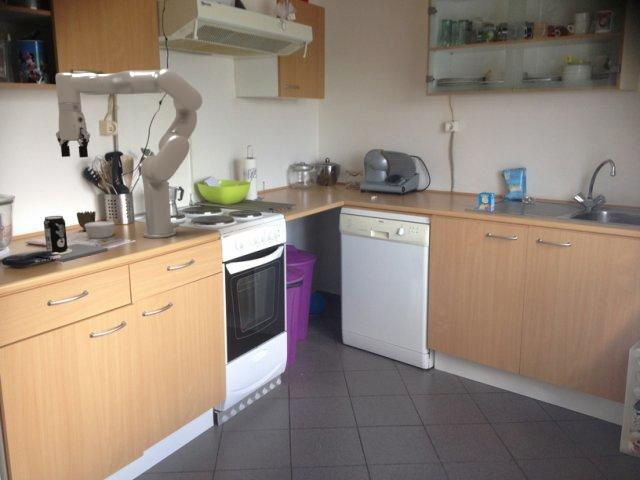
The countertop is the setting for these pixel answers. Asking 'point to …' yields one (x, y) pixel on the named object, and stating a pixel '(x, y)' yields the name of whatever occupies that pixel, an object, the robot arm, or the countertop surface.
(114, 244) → the countertop surface
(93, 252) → the board
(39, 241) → the countertop surface
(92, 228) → the ramekin
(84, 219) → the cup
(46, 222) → the beverage can
